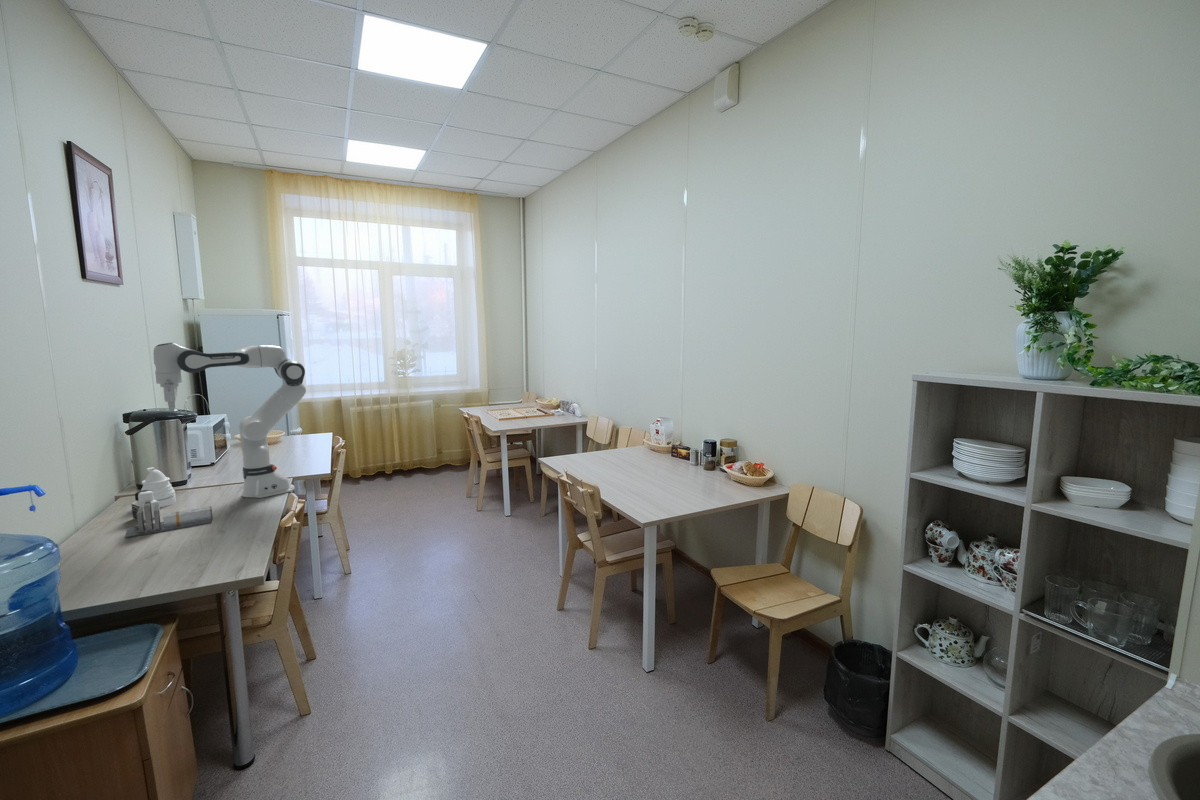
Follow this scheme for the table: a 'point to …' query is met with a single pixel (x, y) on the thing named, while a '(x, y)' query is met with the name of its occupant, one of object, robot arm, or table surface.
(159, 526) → the rail
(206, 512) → the orange-striped grey block
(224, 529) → the table surface
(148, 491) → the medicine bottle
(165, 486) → the honey pot
